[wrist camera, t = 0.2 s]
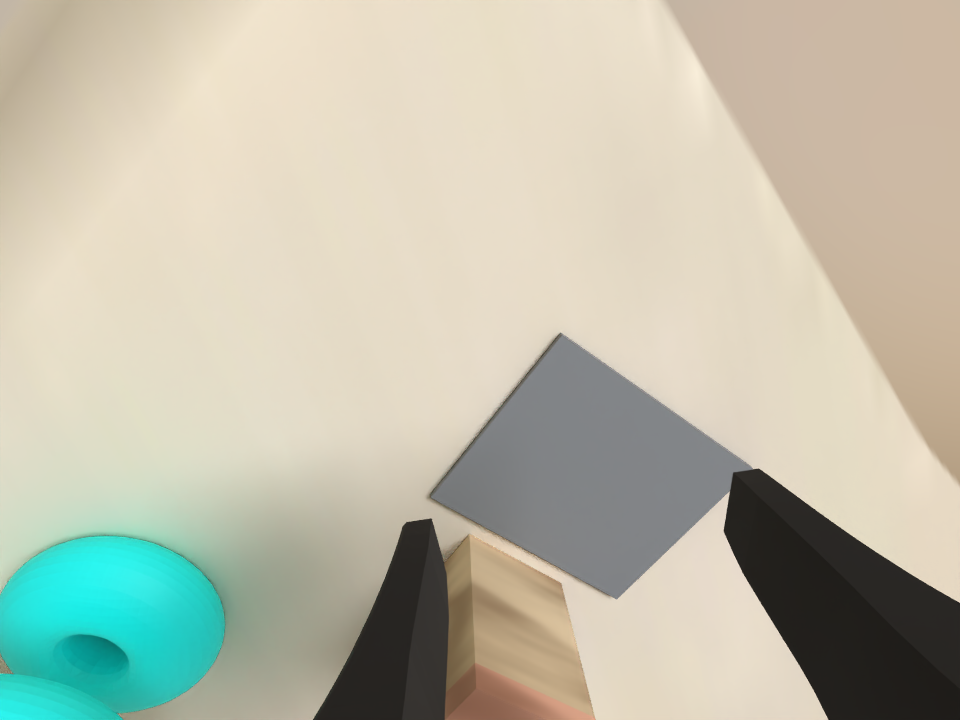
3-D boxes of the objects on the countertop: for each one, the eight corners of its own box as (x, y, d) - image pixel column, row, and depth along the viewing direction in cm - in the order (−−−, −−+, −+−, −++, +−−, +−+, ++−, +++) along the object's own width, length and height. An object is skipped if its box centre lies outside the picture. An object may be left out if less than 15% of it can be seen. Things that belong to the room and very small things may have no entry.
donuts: (113, 764, 16) (122, 928, 19) (239, 538, 25) (229, 677, 28) (-261, 734, 14) (-178, 916, 18) (18, 507, 24) (37, 657, 27)
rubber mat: (615, 594, 28) (616, 599, 27) (430, 493, 24) (430, 497, 24) (749, 465, 25) (752, 468, 24) (561, 332, 22) (562, 335, 21)
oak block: (515, 628, 28) (538, 797, 21) (425, 584, 27) (415, 749, 19) (561, 583, 27) (601, 744, 20) (469, 534, 26) (476, 688, 18)
